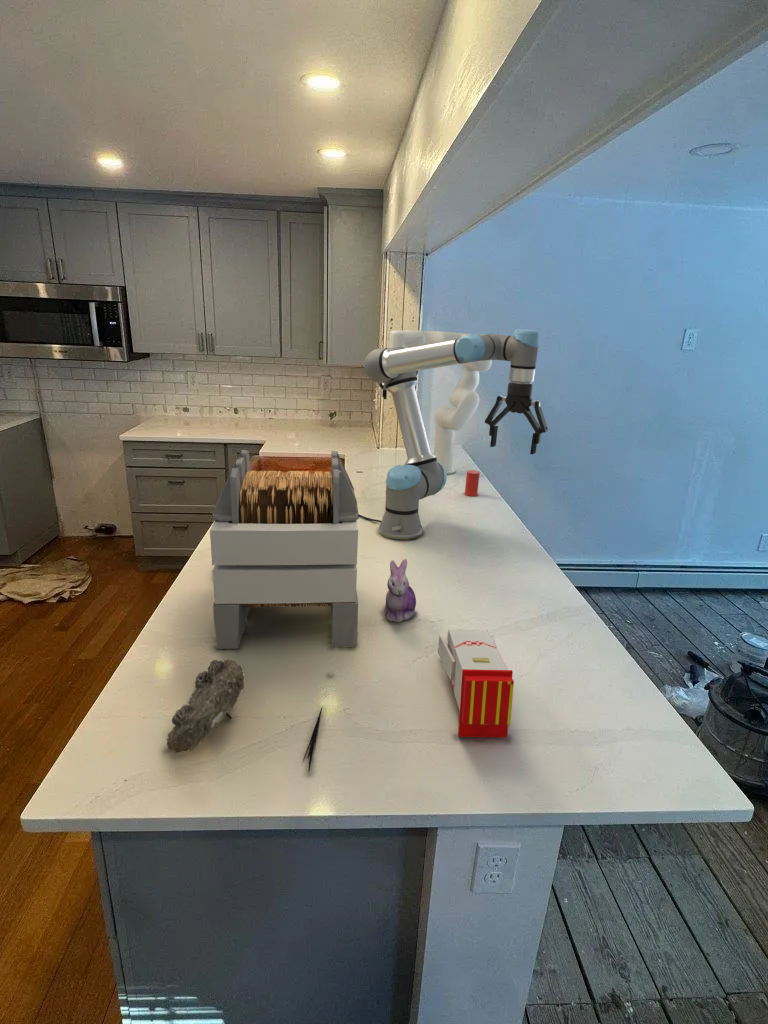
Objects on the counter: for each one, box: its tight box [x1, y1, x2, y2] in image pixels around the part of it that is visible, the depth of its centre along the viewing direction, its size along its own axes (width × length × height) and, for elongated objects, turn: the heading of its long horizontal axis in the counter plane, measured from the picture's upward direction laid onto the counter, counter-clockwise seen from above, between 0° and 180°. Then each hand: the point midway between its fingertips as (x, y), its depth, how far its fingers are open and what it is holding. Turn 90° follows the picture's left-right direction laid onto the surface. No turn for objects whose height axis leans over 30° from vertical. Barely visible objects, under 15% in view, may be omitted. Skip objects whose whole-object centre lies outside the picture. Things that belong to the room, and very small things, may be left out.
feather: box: [301, 673, 332, 771], centre depth 108 cm, size 2×28×2 cm
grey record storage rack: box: [209, 449, 360, 651], centre depth 139 cm, size 34×33×41 cm
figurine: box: [384, 558, 417, 623], centre depth 145 cm, size 9×10×15 cm
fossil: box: [166, 658, 245, 754], centre depth 106 cm, size 22×10×15 cm
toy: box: [437, 628, 515, 738], centre depth 117 cm, size 12×13×30 cm
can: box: [464, 469, 481, 497], centre depth 245 cm, size 6×6×10 cm
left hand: (512, 449), depth 181 cm, fingers open, 13 cm apart
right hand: (395, 398), depth 255 cm, fingers open, 9 cm apart
